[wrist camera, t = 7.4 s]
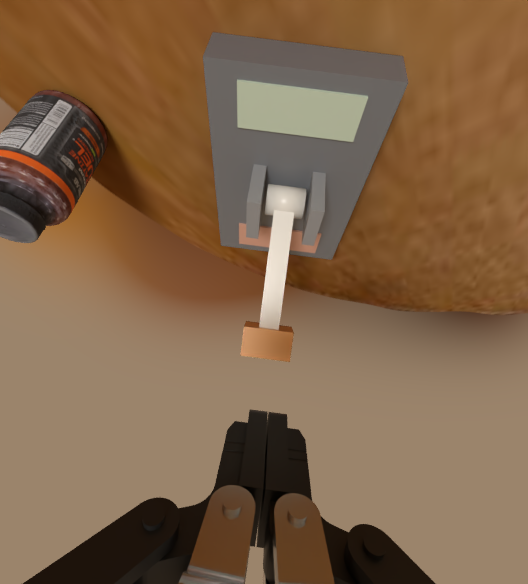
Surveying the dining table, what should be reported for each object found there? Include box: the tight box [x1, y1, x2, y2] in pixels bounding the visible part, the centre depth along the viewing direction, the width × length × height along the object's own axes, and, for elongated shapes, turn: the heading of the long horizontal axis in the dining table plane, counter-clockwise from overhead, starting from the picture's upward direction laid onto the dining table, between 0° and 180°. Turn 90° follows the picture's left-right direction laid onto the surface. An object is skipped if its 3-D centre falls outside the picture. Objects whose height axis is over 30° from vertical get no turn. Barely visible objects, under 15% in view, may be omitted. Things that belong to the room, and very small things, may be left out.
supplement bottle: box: [0, 90, 107, 243], centre depth 24 cm, size 6×6×11 cm
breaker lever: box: [241, 184, 306, 362], centre depth 26 cm, size 4×2×14 cm
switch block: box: [203, 32, 408, 260], centre depth 26 cm, size 12×18×7 cm, turn 176°
